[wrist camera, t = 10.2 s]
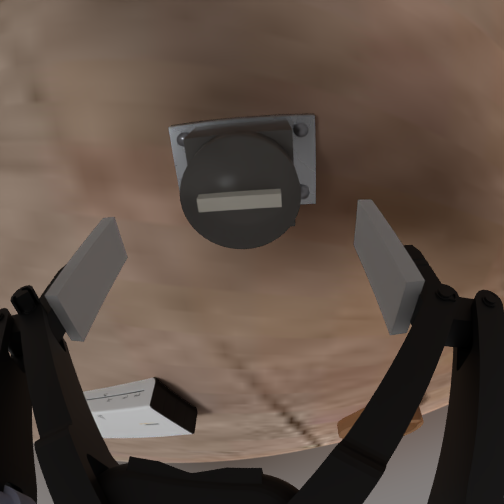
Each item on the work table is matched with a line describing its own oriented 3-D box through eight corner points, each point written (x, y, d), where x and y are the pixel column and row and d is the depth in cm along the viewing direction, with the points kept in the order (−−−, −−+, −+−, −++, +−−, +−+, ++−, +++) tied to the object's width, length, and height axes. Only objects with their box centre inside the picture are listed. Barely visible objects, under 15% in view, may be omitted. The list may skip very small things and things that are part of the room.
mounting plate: (171, 125, 24) (153, 138, 20) (312, 113, 24) (324, 123, 19) (186, 207, 29) (173, 234, 25) (313, 199, 28) (323, 225, 24)
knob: (206, 208, 28) (188, 258, 21) (193, 124, 23) (166, 149, 17) (292, 203, 27) (302, 252, 21) (289, 116, 23) (301, 137, 16)
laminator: (158, 374, 46) (150, 406, 41) (202, 407, 52) (198, 436, 46) (60, 394, 56) (51, 415, 51) (97, 420, 62) (91, 440, 56)
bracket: (403, 384, 47) (412, 416, 41) (421, 394, 50) (429, 422, 44) (329, 424, 55) (332, 453, 49) (352, 430, 58) (356, 457, 52)
